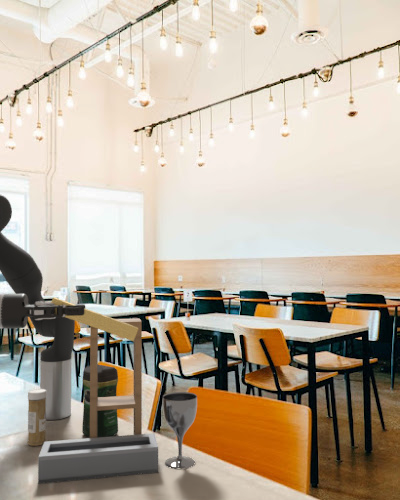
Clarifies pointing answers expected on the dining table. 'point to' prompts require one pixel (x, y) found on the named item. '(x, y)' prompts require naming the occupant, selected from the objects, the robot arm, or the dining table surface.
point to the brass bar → (102, 322)
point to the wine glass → (179, 422)
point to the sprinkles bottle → (37, 417)
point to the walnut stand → (116, 401)
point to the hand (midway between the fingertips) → (84, 309)
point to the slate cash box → (97, 458)
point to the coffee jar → (106, 388)
